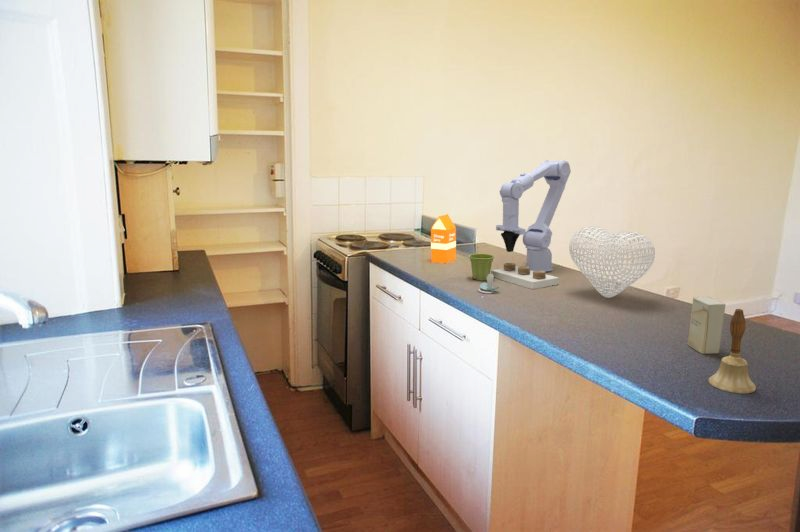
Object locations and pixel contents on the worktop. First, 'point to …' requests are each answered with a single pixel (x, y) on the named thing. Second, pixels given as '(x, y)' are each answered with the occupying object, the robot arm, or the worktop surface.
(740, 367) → the hand bell
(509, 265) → the knob
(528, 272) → the knob middle
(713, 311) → the skincare box
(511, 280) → the mount plate
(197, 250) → the worktop surface
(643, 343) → the worktop surface
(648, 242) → the heart
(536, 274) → the knob
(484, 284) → the pacifier
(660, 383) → the worktop surface
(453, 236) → the orange juice
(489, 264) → the plant pot
